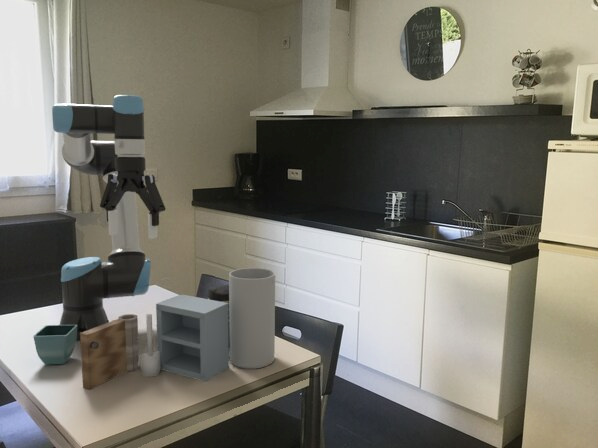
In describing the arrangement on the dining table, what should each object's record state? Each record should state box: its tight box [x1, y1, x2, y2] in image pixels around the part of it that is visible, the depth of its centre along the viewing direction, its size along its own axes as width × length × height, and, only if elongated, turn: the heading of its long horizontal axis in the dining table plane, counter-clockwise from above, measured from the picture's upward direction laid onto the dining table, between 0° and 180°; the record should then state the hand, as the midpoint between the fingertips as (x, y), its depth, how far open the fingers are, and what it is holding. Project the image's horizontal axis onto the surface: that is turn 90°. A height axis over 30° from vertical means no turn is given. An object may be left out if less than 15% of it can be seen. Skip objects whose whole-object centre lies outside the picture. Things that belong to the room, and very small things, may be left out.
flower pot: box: [33, 324, 77, 365], centre depth 143 cm, size 9×9×9 cm
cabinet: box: [140, 294, 230, 382], centre depth 137 cm, size 18×15×18 cm
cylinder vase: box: [228, 267, 276, 370], centre depth 144 cm, size 12×12×25 cm
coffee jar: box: [207, 284, 230, 349], centre depth 155 cm, size 10×8×19 cm
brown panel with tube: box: [80, 314, 140, 391], centre depth 134 cm, size 17×5×14 cm, turn 152°
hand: (132, 236), depth 139 cm, fingers open, 13 cm apart
